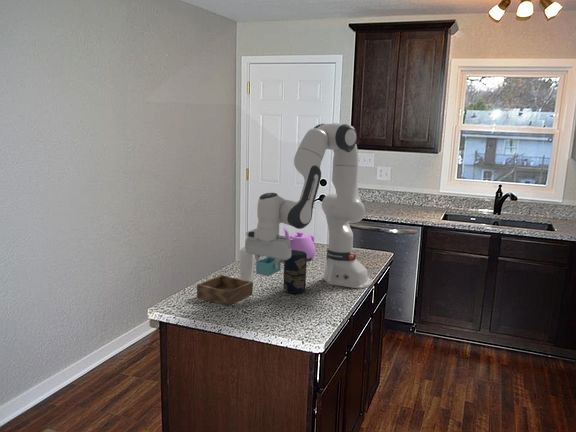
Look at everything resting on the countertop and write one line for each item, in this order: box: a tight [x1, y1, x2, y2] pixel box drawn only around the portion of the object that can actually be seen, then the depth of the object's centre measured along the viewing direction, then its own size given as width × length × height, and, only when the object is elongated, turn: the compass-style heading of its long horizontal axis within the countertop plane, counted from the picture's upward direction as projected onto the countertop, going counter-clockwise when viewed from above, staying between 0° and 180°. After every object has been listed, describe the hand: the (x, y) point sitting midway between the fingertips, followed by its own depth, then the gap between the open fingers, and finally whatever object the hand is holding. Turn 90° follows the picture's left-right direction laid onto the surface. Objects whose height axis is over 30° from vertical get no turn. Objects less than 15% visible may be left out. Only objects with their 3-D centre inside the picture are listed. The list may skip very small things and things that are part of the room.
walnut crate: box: [196, 274, 254, 307], centre depth 203 cm, size 16×16×6 cm
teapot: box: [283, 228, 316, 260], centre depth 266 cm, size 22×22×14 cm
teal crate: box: [255, 257, 281, 277], centre depth 202 cm, size 6×9×5 cm, turn 150°
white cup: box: [238, 246, 255, 282], centre depth 222 cm, size 7×7×15 cm
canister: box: [282, 250, 308, 294], centre depth 211 cm, size 10×10×18 cm
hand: (267, 267), depth 202 cm, fingers closed on teal crate, 6 cm apart
